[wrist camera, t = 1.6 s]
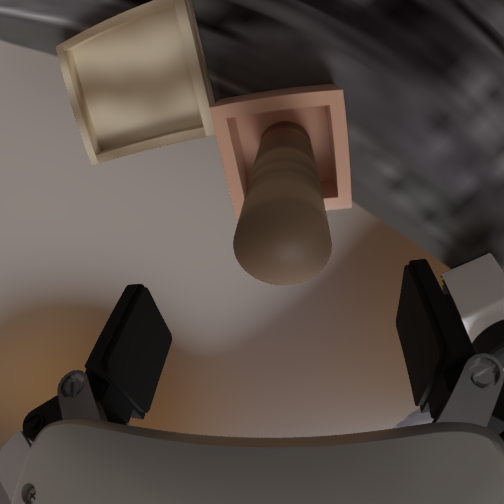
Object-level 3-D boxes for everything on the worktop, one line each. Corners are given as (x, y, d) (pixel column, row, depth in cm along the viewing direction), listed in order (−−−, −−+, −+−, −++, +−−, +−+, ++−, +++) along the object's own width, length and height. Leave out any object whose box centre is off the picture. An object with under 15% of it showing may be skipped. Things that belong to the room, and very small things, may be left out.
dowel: (256, 124, 23) (223, 211, 12) (307, 118, 23) (328, 199, 11) (265, 170, 26) (244, 288, 14) (313, 165, 25) (333, 281, 14)
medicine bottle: (439, 272, 31) (475, 359, 21) (490, 250, 28) (537, 329, 19) (444, 311, 34) (471, 391, 25) (490, 291, 32) (526, 366, 22)
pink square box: (220, 98, 23) (209, 107, 20) (334, 83, 21) (342, 89, 18) (242, 196, 28) (236, 219, 25) (344, 186, 26) (351, 207, 23)
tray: (68, 45, 20) (55, 46, 18) (189, -6, 18) (182, -10, 16) (102, 157, 27) (91, 165, 25) (221, 128, 25) (216, 134, 23)
